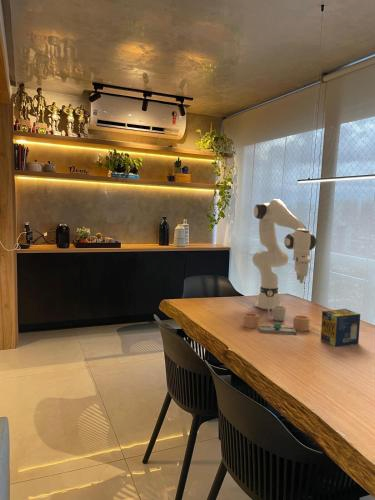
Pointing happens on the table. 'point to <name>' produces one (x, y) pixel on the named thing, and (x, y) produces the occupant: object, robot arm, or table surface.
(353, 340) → the protein box
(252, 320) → the tube
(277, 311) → the cup
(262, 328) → the tray
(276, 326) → the ball
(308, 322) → the tube
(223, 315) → the table surface
